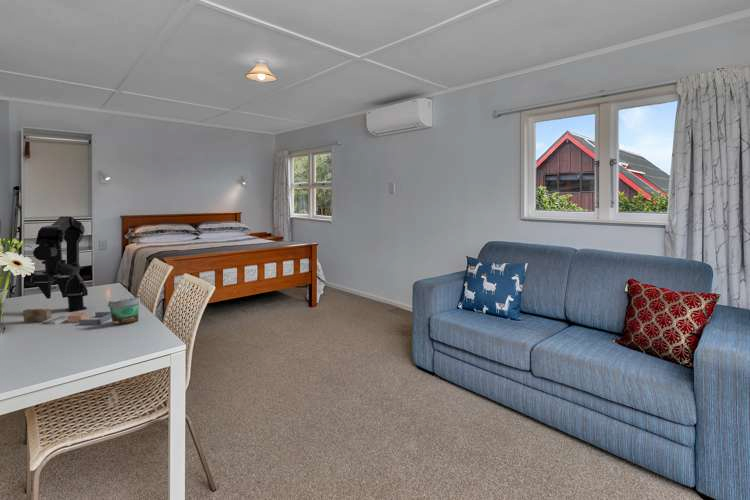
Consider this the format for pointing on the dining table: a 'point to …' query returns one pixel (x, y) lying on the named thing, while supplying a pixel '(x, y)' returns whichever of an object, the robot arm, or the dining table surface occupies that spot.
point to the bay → (104, 315)
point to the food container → (124, 311)
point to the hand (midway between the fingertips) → (56, 296)
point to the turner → (42, 316)
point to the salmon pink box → (77, 317)
